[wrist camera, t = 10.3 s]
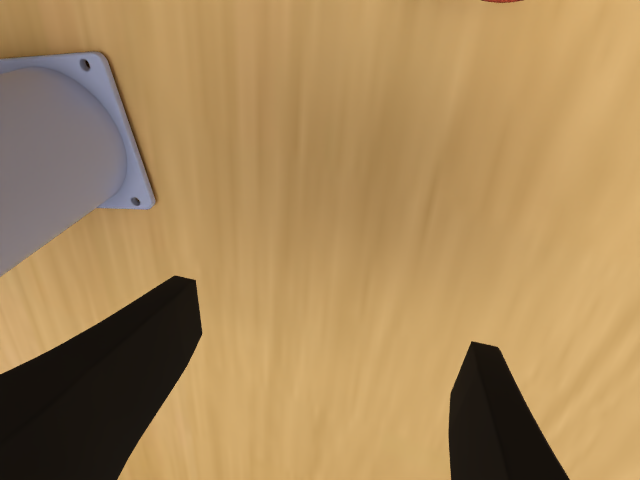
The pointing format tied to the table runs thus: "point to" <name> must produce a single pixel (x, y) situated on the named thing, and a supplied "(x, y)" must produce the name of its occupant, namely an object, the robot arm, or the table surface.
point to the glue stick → (501, 1)
